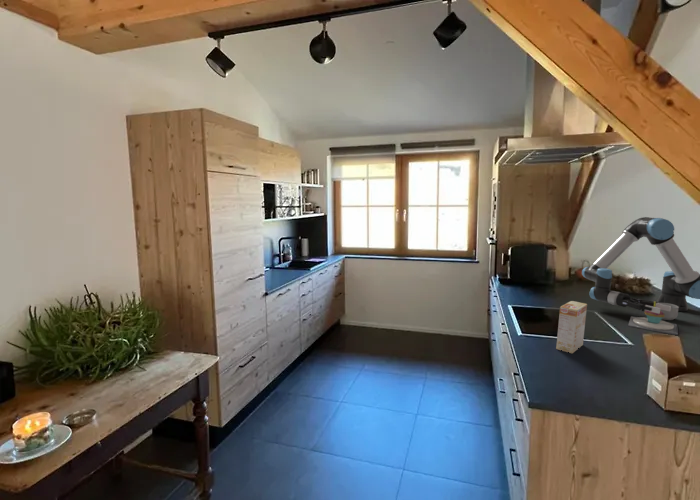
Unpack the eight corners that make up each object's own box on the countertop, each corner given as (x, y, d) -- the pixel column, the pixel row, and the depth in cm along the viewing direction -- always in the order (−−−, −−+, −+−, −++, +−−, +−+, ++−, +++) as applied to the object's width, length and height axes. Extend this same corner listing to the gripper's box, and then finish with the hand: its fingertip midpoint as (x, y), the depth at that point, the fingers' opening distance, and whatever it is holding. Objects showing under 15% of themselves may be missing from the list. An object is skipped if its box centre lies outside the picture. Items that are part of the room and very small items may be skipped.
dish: (630, 317, 217) (631, 314, 217) (676, 325, 205) (677, 322, 204) (628, 326, 202) (628, 322, 202) (677, 335, 189) (678, 331, 189)
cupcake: (661, 325, 197) (664, 302, 196) (641, 321, 204) (644, 298, 203) (665, 323, 203) (668, 300, 202) (645, 319, 209) (648, 297, 208)
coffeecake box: (566, 340, 179) (570, 300, 177) (583, 345, 174) (588, 303, 172) (555, 349, 169) (559, 306, 167) (572, 354, 164) (577, 310, 161)
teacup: (681, 322, 210) (683, 308, 209) (659, 320, 212) (661, 306, 211) (666, 314, 223) (668, 301, 222) (645, 313, 225) (646, 300, 224)
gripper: (629, 303, 223) (675, 314, 203) (606, 307, 214) (652, 319, 194) (631, 290, 222) (677, 300, 202) (608, 294, 213) (654, 305, 193)
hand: (665, 309), depth 198 cm, fingers open, 9 cm apart
